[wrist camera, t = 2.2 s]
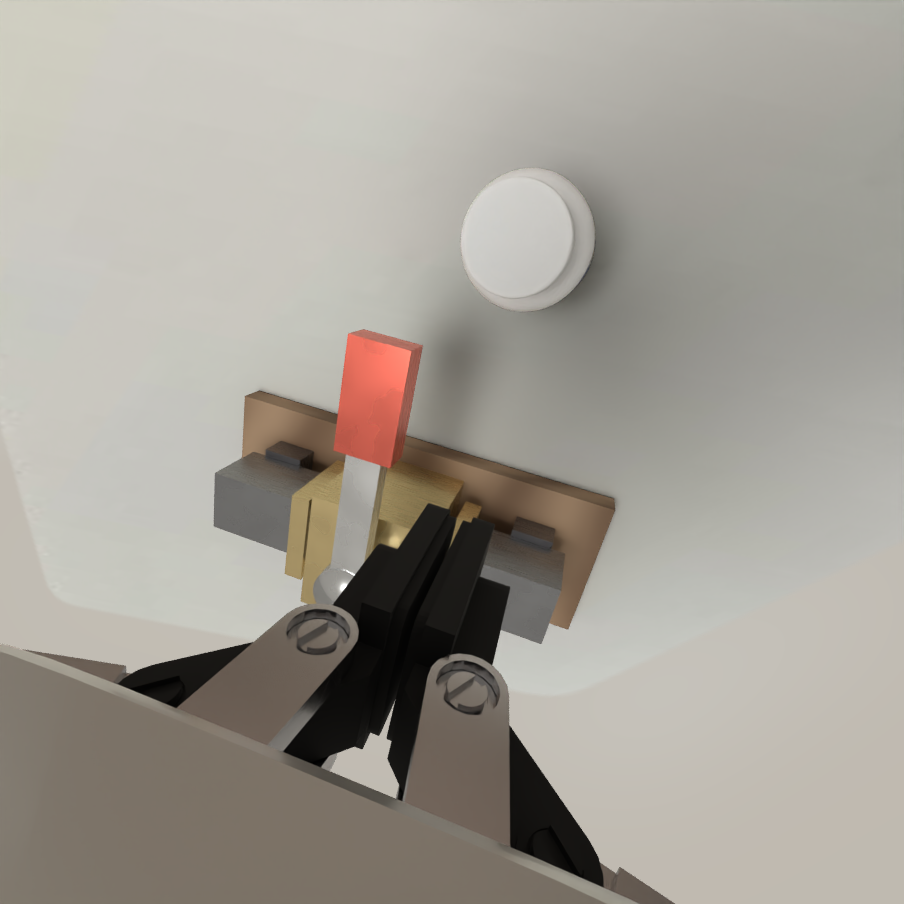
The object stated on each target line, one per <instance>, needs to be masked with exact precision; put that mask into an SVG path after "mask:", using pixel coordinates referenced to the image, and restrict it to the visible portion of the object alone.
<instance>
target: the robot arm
mask: <svg viewBox="0 0 904 904" xmlns="http://www.w3.org/2000/svg"><path fill="white" fill-rule="evenodd" d="M456 520H457V518H455V517H452V516H450V510H449V509H446V508H443V507H440V506H437V505H434V504H430V503H428V504H427V506H426V507H425V508H424V510H423V511H422V513H421V514H420V516H419V517H418V519H417V520H416V522H415V523H414V525H413V526H412V528H411V529H410V531H409V532H408V534H407V535H406V537H405V538H404V540H403V541H402V543H401V544H400V546H399V547H398V549H396V548H393V547H390V546H387V545H384V544H382V543H380V544H378V545H377V546H376V547H375V549H374V550H373V551H372V553H371V554H370V555H369V557H368V558H367V559H366V561H365V562H364V563H363V565H362V566H361V567H360V569H359V570H358V571H357V573H356V574H355V575H354V577H353V578H352V579H351V581H350V582H349V583H348V585H347V586H346V587H345V589H344V590H343V591H342V593H341V594H340V595H339V597H338V598H337V599H336V601H335V602H334V603H333V605H330V604H322V603H316V604H307V605H304V606H301V607H298V608H295V609H294V610H292V611H291V612H289V613H287V614H286V615H285V616H284V617H282V618H281V619H280V620H279V621H278V622H277V623H275V624H274V625H273V626H272V627H271V628H270V629H268V630H267V631H266V632H265V633H264V634H263V635H261V636H260V637H259V638H258V639H257V640H256V641H254V642H252V643H248V644H243V645H239V646H234V647H230V648H225V649H221V650H217V651H213V652H208V653H203V654H199V655H194V656H190V657H186V658H181V659H177V660H172V661H168V662H164V663H159V664H155V665H151V666H148V667H146V668H142V669H140V670H138V671H135V672H134V673H132V674H130V673H126V666H124V665H118V664H111V663H104V662H98V661H92V660H86V659H80V658H73V657H67V656H61V655H54V654H48V653H42V652H35V651H29V650H23V649H19V648H16V647H13V646H9V645H5V644H1V643H0V904H675V903H673V902H672V901H670V900H668V899H667V898H666V897H664V896H663V895H661V894H660V893H658V892H657V891H655V890H654V889H652V888H651V887H649V886H648V885H646V884H645V883H643V882H642V881H640V880H639V879H637V878H636V877H634V876H633V875H631V874H630V873H628V872H627V871H625V870H624V869H622V868H621V867H619V869H618V871H617V872H616V873H615V872H613V871H612V870H610V869H609V868H607V867H606V866H604V865H603V864H601V863H600V862H599V858H598V856H597V854H596V852H595V850H594V848H593V847H592V845H591V843H590V841H589V840H588V838H587V836H586V835H585V834H584V832H583V831H582V829H581V828H580V826H579V825H578V824H577V822H576V821H575V819H574V818H573V816H572V815H571V813H570V812H569V811H568V809H567V808H566V806H565V805H564V803H563V802H562V801H561V799H560V798H559V796H558V795H557V793H556V792H555V790H554V789H553V788H552V786H551V785H550V783H549V782H548V780H547V779H546V778H545V776H544V774H543V773H542V772H541V770H540V769H539V767H538V766H537V764H536V763H535V762H534V760H533V759H532V757H531V756H530V754H529V753H528V752H527V750H526V748H525V747H524V746H523V744H522V743H521V741H520V740H519V738H518V737H517V735H516V734H515V733H514V731H513V730H512V728H511V727H510V726H509V693H508V688H507V684H506V683H505V681H504V679H503V677H502V675H501V674H500V673H499V672H498V671H497V670H496V669H495V668H494V667H493V666H492V664H493V660H494V656H495V652H496V647H497V643H498V639H499V635H500V630H501V626H502V622H503V618H504V613H505V609H506V605H507V600H508V596H509V592H510V586H507V585H504V584H501V583H498V582H495V581H492V580H489V579H486V578H483V577H480V575H481V572H482V569H483V565H484V562H485V558H486V555H487V551H488V548H489V544H490V541H491V537H492V534H493V530H494V527H495V524H493V523H490V522H487V521H484V520H481V519H478V518H475V517H473V519H472V521H471V522H467V521H464V520H463V521H462V523H461V525H460V527H459V530H458V532H457V534H456V536H455V538H454V540H453V542H452V544H451V541H452V537H453V533H454V529H455V525H456ZM450 545H451V546H450ZM395 699H396V700H395ZM394 701H395V704H394ZM393 704H394V708H393V713H392V717H391V721H390V725H389V730H388V734H387V739H388V740H391V741H392V742H391V746H390V750H389V754H388V761H389V763H390V766H391V768H392V770H393V772H394V774H395V777H396V779H397V781H398V783H399V787H398V791H397V795H396V799H395V798H393V797H390V796H388V795H385V794H383V793H381V792H378V791H376V790H373V789H371V788H368V787H366V786H364V785H361V784H359V783H357V782H354V781H351V780H349V779H347V778H344V777H342V776H340V775H337V774H335V773H332V772H330V769H331V768H332V765H333V764H334V762H335V760H336V756H337V753H338V752H341V751H344V750H346V749H349V748H352V747H357V748H360V749H363V747H364V745H365V743H366V741H367V738H368V736H369V734H370V733H373V734H375V735H378V736H379V735H380V733H381V731H382V729H383V726H384V724H385V722H386V720H387V717H388V715H389V713H390V710H391V708H392V706H393Z"/></svg>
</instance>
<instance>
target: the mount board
mask: <svg viewBox="0 0 904 904" xmlns="http://www.w3.org/2000/svg"><path fill="white" fill-rule="evenodd" d="M337 418H338V415H337V414H334V413H330V412H327V411H324V410H320V409H317V408H314V407H311V406H307V405H304V404H301V403H298V402H294V401H291V400H288V399H284V398H281V397H278V396H275V395H271V394H268V393H265V392H262V391H257V392H254V393H252V394H249V395H247V396H245V407H244V428H243V450H242V458H243V457H245V456H247V455H248V454H250V453H252V452H257V453H260V454H263V455H265V451H266V449H267V448H269V447H271V446H272V445H274V444H276V443H278V442H280V441H284V442H287V443H290V444H293V445H296V446H299V447H302V448H305V449H309V450H312V451H314V456H313V465H312V471H315V472H318V473H322V472H323V471H324V470H326V469H327V468H328V467H329V466H331V465H332V464H333V463H335V462H336V461H337V460H339V461H342V462H345V458H346V454H343V453H340V452H336V451H333V449H334V442H335V434H336V426H337ZM399 461H402V462H405V463H408V464H412V465H415V466H418V467H421V468H424V469H427V470H431V471H434V472H437V473H440V474H443V475H447V476H450V477H453V478H456V479H459V480H462V481H464V485H463V489H462V493H461V497H460V501H459V505H458V509H457V513H456V518H457V517H458V515H459V513H460V511H461V510H462V508H463V506H464V504H465V502H466V501H467V502H470V503H473V504H476V505H479V506H482V508H481V512H480V516H479V519H481V520H484V521H487V522H490V523H493V524H495V527H494V530H495V531H498V532H501V533H505V534H508V535H511V533H512V530H513V526H514V523H515V520H516V517H517V516H518V517H521V518H524V519H527V520H530V521H533V522H536V523H539V524H543V525H546V526H549V527H552V528H555V535H554V542H553V545H552V548H551V549H553V550H556V551H559V552H563V553H565V559H564V568H563V578H562V588H561V593H560V595H559V598H558V601H557V603H556V606H555V609H554V611H553V614H552V617H551V619H550V622H549V623H551V624H554V625H556V626H559V627H562V628H565V629H568V628H569V626H570V623H571V621H572V618H573V616H574V613H575V611H576V608H577V606H578V603H579V601H580V598H581V595H582V593H583V590H584V588H585V585H586V583H587V580H588V578H589V575H590V573H591V570H592V568H593V565H594V563H595V560H596V557H597V555H598V552H599V550H600V547H601V545H602V542H603V540H604V537H605V535H606V532H607V530H608V527H609V525H610V522H611V519H612V517H613V514H614V512H615V503H614V499H612V498H609V497H606V496H602V495H599V494H596V493H592V492H589V491H586V490H583V489H579V488H576V487H573V486H570V485H566V484H563V483H560V482H556V481H553V480H550V479H547V478H543V477H540V476H537V475H533V474H530V473H527V472H524V471H520V470H517V469H514V468H511V467H507V466H504V465H501V464H497V463H494V462H491V461H488V460H484V459H481V458H478V457H475V456H471V455H468V454H465V453H461V452H458V451H455V450H452V449H448V448H445V447H442V446H438V445H435V444H432V443H429V442H425V441H422V440H419V439H416V438H412V437H409V436H406V438H405V443H404V449H403V454H402V457H401V458H400V459H399Z"/></svg>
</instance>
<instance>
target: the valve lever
mask: <svg viewBox="0 0 904 904" xmlns="http://www.w3.org/2000/svg"><path fill="white" fill-rule="evenodd" d="M422 347H423V345H419V344H415V343H412V342H408V341H404V340H401V339H397V338H393V337H390V336H386V335H382V334H379V333H375V332H371V331H368V330H364V329H363V330H359V331H356V332H352V333H349V334H348V339H347V346H346V354H345V362H344V370H343V378H342V386H341V394H340V402H339V410H338V418H337V426H336V434H335V442H334V449H333V451H336V452H340V453H343V454H346V458H345V465H344V472H343V480H342V487H341V494H340V501H339V509H338V516H337V523H336V530H335V538H334V545H333V552H332V559H331V563H330V564H329V565H328V566H327V567H326V568H325V569H324V571H323V572H322V573H321V574H320V575H319V576H318V577H317V579H316V580H315V582H314V585H313V595H314V599H315V601H316V603H322V604H330V605H333V603H334V602H335V601H336V599H337V598H338V597H339V595H340V594H341V593H342V591H343V590H344V589H345V587H346V586H347V585H348V583H349V582H350V581H351V579H352V578H353V577H354V575H355V574H356V573H357V571H358V570H359V569H360V567H361V566H362V565H363V563H364V562H365V561H366V559H367V558H368V557H369V555H370V554H371V553H372V551H373V547H374V541H375V536H376V530H377V524H378V519H379V513H380V507H381V502H382V496H383V491H384V485H385V479H386V474H387V468H391V467H392V466H393V465H394V464H395V463H396V462H397V461H398V460H399V459H400V458H401V457H402V454H403V449H404V443H405V438H406V433H407V427H408V422H409V417H410V411H411V406H412V401H413V395H414V390H415V385H416V379H417V374H418V369H419V363H420V358H421V353H422Z"/></svg>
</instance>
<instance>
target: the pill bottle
mask: <svg viewBox="0 0 904 904" xmlns="http://www.w3.org/2000/svg"><path fill="white" fill-rule="evenodd" d="M594 250H595V226H594V220H593V216H592V213H591V210H590V208H589V205H588V203H587V202H586V200H585V198H584V197H583V195H582V194H581V193H580V191H579V190H578V189H577V188H576V187H575V186H574V185H573V184H572V183H571V182H570V181H569V180H567V179H566V178H565V177H563V176H561V175H559V174H558V173H555V172H553V171H550V170H546V169H541V168H522V169H517V170H513V171H511V172H508V173H505V174H503V175H501V176H499V177H497V178H496V179H494V180H493V181H491V182H490V183H489V184H488V185H487V186H486V187H485V188H483V190H482V191H481V192H480V193H479V194H478V195H477V197H476V198H475V199H474V201H473V202H472V204H471V206H470V207H469V209H468V211H467V214H466V216H465V219H464V222H463V226H462V231H461V256H462V261H463V265H464V268H465V271H466V273H467V275H468V277H469V279H470V281H471V282H472V284H473V285H474V287H475V288H476V289H477V290H478V291H479V293H480V294H481V295H482V296H483V297H485V298H486V299H487V300H488V301H490V302H491V303H493V304H495V305H496V306H499V307H501V308H504V309H507V310H511V311H518V312H530V311H536V310H541V309H544V308H547V307H549V306H551V305H554V304H556V303H557V302H559V301H561V300H562V299H564V298H565V297H566V296H567V295H568V294H569V293H571V292H572V291H573V289H574V288H575V287H576V286H577V285H578V284H579V283H580V282H581V280H582V279H583V278H584V276H585V275H586V273H587V271H588V269H589V267H590V265H591V262H592V259H593V255H594Z"/></svg>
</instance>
